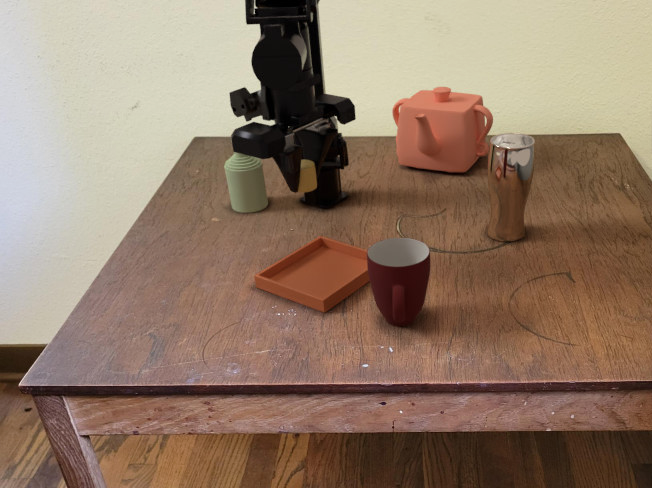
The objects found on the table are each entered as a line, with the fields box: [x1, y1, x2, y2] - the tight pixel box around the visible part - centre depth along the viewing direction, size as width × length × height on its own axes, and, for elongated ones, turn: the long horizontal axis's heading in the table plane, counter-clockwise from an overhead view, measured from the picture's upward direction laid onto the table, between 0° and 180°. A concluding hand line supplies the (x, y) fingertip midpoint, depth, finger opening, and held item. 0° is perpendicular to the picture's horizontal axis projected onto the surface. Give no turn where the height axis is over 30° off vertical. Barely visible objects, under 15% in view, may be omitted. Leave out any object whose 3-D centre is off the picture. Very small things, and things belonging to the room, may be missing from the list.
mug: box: [367, 237, 431, 327], centre depth 92 cm, size 11×8×10 cm
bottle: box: [223, 140, 269, 214], centre depth 123 cm, size 6×6×12 cm
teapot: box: [391, 86, 494, 174], centre depth 133 cm, size 20×19×14 cm
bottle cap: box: [297, 160, 317, 194], centre depth 99 cm, size 4×4×3 cm
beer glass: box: [486, 132, 536, 243], centre depth 110 cm, size 7×7×15 cm
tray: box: [253, 235, 370, 313], centre depth 105 cm, size 15×13×2 cm
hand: (303, 187), depth 100 cm, fingers closed on bottle cap, 3 cm apart
